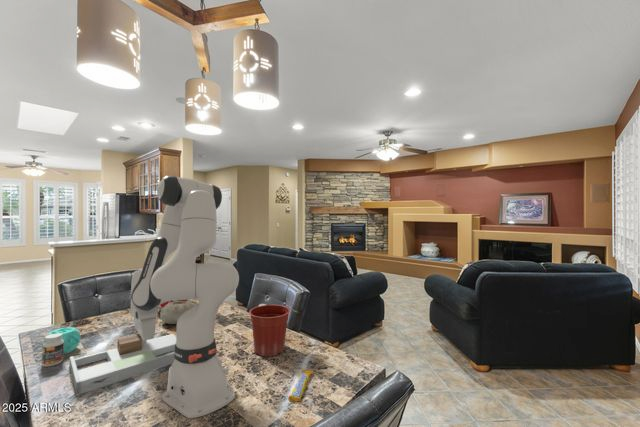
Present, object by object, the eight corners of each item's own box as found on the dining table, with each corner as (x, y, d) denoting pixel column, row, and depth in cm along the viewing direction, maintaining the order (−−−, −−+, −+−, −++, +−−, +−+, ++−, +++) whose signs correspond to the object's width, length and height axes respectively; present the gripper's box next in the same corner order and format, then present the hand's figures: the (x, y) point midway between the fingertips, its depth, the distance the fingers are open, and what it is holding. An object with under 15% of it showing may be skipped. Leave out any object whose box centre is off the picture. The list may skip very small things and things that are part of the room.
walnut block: (141, 349, 109) (141, 339, 110) (119, 355, 105) (119, 344, 105) (138, 343, 115) (138, 333, 115) (117, 348, 110) (117, 338, 110)
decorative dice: (80, 347, 116) (81, 327, 116) (61, 356, 108) (61, 335, 108) (62, 346, 117) (63, 326, 117) (42, 355, 109) (42, 334, 109)
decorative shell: (187, 313, 159) (187, 295, 159) (205, 320, 148) (206, 301, 148) (153, 322, 144) (153, 303, 144) (171, 331, 134) (171, 310, 134)
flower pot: (240, 350, 116) (241, 310, 116) (272, 338, 128) (273, 302, 128) (264, 364, 105) (265, 320, 105) (297, 349, 117) (298, 310, 117)
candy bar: (300, 405, 83) (300, 399, 83) (286, 403, 84) (286, 397, 84) (313, 374, 99) (313, 369, 100) (301, 373, 100) (301, 367, 100)
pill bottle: (44, 368, 100) (45, 340, 100) (39, 364, 103) (40, 336, 103) (65, 362, 104) (66, 334, 105) (60, 357, 108) (61, 331, 108)
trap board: (192, 357, 109) (192, 347, 109) (76, 395, 85) (76, 382, 85) (172, 339, 125) (172, 330, 125) (69, 367, 101) (69, 356, 101)
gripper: (130, 303, 118) (129, 337, 118) (139, 317, 103) (138, 355, 103) (147, 301, 122) (146, 333, 122) (159, 313, 107) (158, 350, 107)
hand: (143, 343), depth 112 cm, fingers closed
